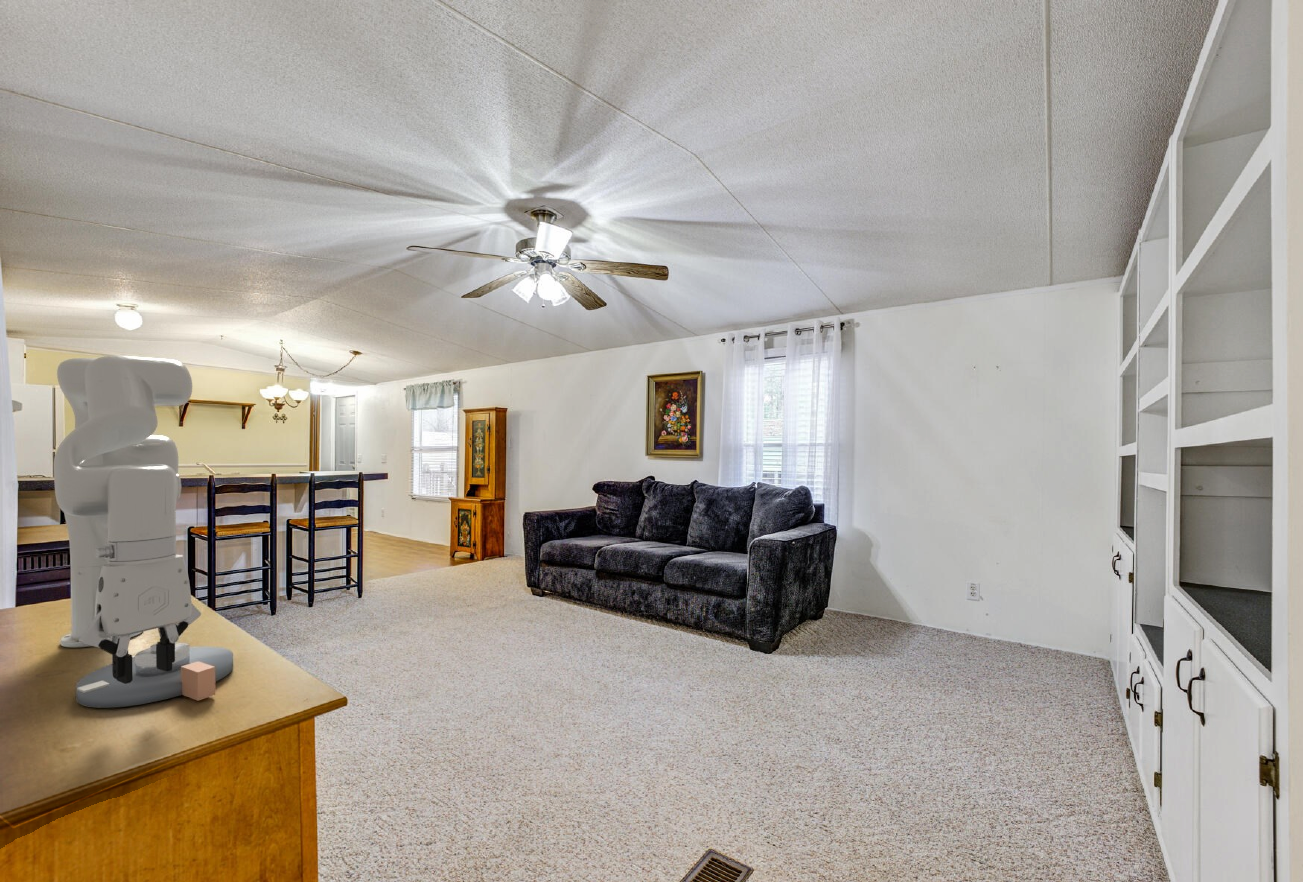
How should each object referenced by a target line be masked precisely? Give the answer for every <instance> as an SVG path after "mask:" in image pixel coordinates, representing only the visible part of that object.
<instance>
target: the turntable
mask: <svg viewBox="0 0 1303 882" xmlns="http://www.w3.org/2000/svg"><path fill="white" fill-rule="evenodd" d="M233 669H234V653H233V652H232V650H230V649H228V648H225V647H219V646H190V664H188V665H184V666H181V670H179V671H176V672H173V673H169V674H165V675H159V676H152V677H139V676H136V674H135V656H134V657H133V656H132V674H133V680H132V681H131V682H130V683H127V684H124V683H122V682H119V681H117V679H115V678H114V677H113V672H112V663H110V664H108V665H105V666H102V667H100V668H98V669H95V670H93V671H91V672H89V673H88V674H86V675H84V676H83V677H81V678H80V679H79V680H78V681H77V683H76V684H75V688H76V690H75V691H76V692H75V693H76V696H75V697H76V698H75V699H76V702H77V703H78V704H80V705H82V706H84V707H89V708H98V709H99V708H103V709H105V708H106V709H108V708H121V707H123V708H124V707H130V706H138V705H145V704H149V703H150V704H151V703H153V702H154V703H155V702H158V701H162V700H168V699H172V698H175V697H180V696H184V697H188V698H189V699H192V700H195V701H202V700H204V699H207V698H210V697H212V696H215V695H216V682H218V681H220V680H222V679H223V678H225V677H226V676H228V675H229V674H230V673H231V672H232V670H233Z"/></svg>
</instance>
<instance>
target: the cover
mask: <svg viewBox="0 0 1303 882" xmlns="http://www.w3.org/2000/svg"><path fill="white" fill-rule="evenodd" d="M156 644H157V643H153V644H151V645H150V647H148V648H145V649H142V650H141V651H139V652H136V654H135V655H134V657H135V674H136V676H139V677H152V676H159V675H165V674H169V673H173V672H176V671H179V670H181V666H184V665H188V664H190V647H191V646H190V644H189V643H186V642H185V643H184V642H175V662H174V663H172V670H171V671H168V672H167V671H163V670H160V669H157V667H156Z"/></svg>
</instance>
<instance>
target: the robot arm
mask: <svg viewBox="0 0 1303 882" xmlns="http://www.w3.org/2000/svg"><path fill="white" fill-rule="evenodd" d="M56 376H57V381H58V385H59V388H60V389H61V392H62V393H63V395H64V397H65V398H66V400H67V401H68V403H69V405H70V407H71V409H72V411H73V415H74V429H73V430H72V431H71V432H70V433H69V434H68V435H66V436H65V437H64V439H63V440H62V441H61V442H60V444H59V445H58V448H57V449H56V452H55V455H54V460H53V480H54V481H53V482H54V495H55V498H56V499H55V500H56V503H57V505H58V507H59V508H60V510H61V511H62V513H64V519H65V523H66V527H67V533H68V540H69V555H70V614H71V615H70V623H71V625H70V627H71V628H70V629H71V632H70V633H68V634H66V635H64V636H62V637H61V638H60V641H59V642H60V643H59V644H60V646H62V647H65V648H72V649H73V648H86V647H87V648H88V647H89V648H90V647H96V648H97V649H98V648H99V649H100V650H102V651H104V652H106V653H108V654H109V655H111V658H112V659H111V660H112V662H111V664H112V672H113V677H114V678H115V679H117V681H119V682H122V683H124V684H127V683H130V682H131V681H132V680H133V674H132V658H133V654H130V653H129V645H130V641H131V638H134V637H136V636H138V635H140V634H141V633H143V632H146V631H151V630H156V629H157V630H158V634H159V637H160V638H159V641H157V642H156V643H155V644H156V667H157V669H160V670H163V671H167V672H168V671H171V670H172V663H174V662H175V643H178V641H179V639H180V636H181V635H182V634H183V633H184V632H185V630H187V629H188V628H189V626H190V625H192V624H193V623H194V622H195V621H196V620H198V619H199V618H200V617H201V614H202V613H201V611H200V610H199V609H198V608H197V607H196V606H195V605H194V604H193V603H192V595H191V586H190V585H191V584H190V579H189V573H188V568H187V564H186V561H185V558H184V555H183V554H177V527H176V526H177V525H176V524H177V522H176V518H177V517H176V510H177V500H179V499H180V497H181V495H182V480H181V476H180V474H179V452H178V447H177V445H176V443H175V442H174V440H173V439H172V438H170V437H168V436H165V435H157V434H154V433H155V432H156V429H157V428H158V417H157V411H156V408H155V407H156V406H157V407H180V406H183V405H186V404H187V403H188V402H189V401H190V399H191V396H192V393H193V379H192V377H191V374H190V371H189V369H188V367H187V366H186V365H185V364H184V363H183V362H181V361H178V360H176V359H167V358H158V357H156V358H155V357H144V356H143V357H142V356H130V355H106V356H101V357H98V358H96V357H95V358H91V357H90V358H89V357H88V358H87V357H79V358H77V357H74V358H68V359H66V360H63V361H61V362H60V363H59V365H58V366H57V369H56Z"/></svg>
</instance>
